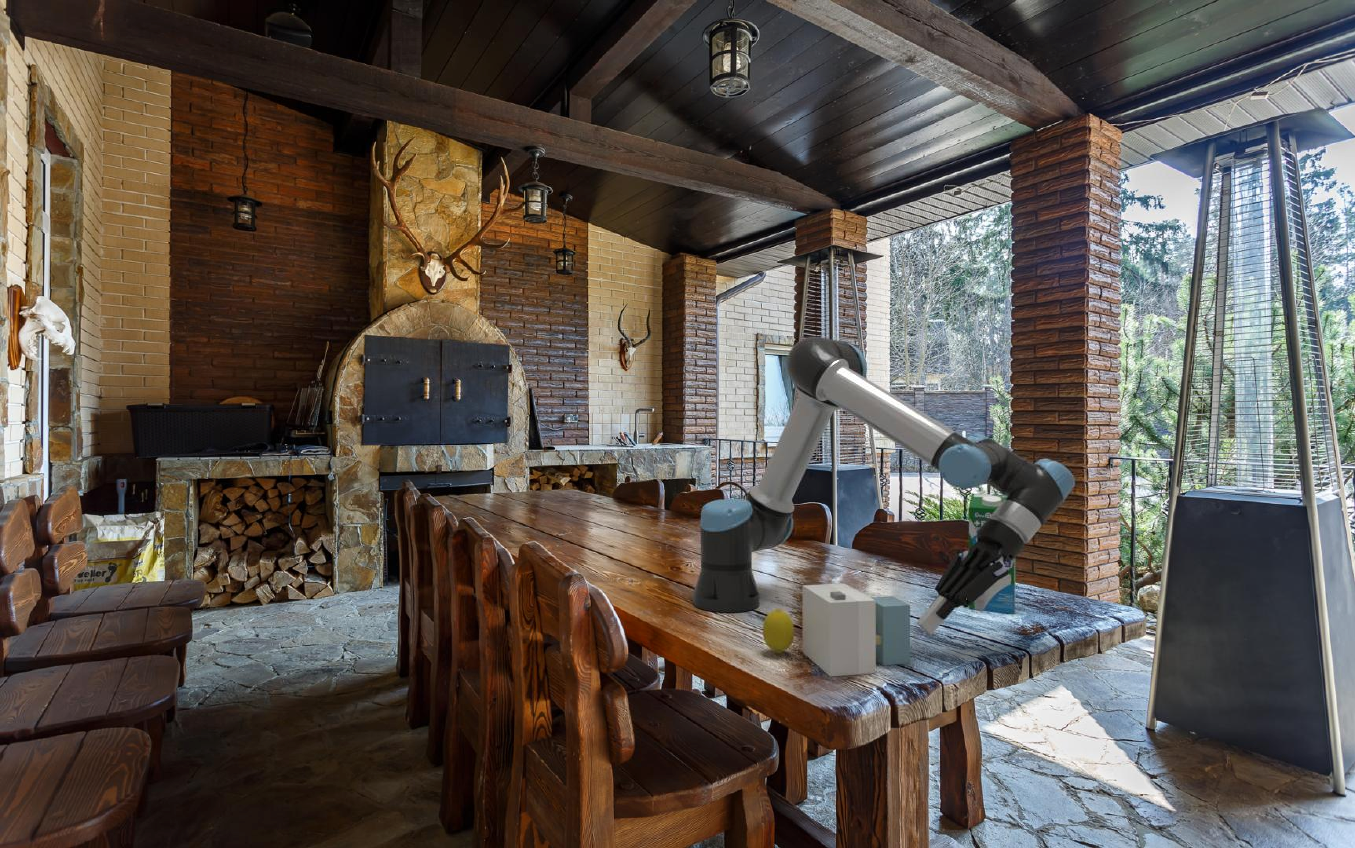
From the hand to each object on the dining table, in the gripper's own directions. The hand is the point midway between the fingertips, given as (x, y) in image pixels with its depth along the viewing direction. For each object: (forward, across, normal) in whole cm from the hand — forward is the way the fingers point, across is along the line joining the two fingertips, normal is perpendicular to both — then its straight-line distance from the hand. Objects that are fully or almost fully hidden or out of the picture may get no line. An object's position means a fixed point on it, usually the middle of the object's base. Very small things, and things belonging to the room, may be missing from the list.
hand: (923, 628), depth 119 cm
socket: (+14, 0, +7) cm, 16 cm away
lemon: (+21, +6, +14) cm, 26 cm away
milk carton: (-19, +26, -26) cm, 42 cm away
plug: (+9, 0, +2) cm, 9 cm away
